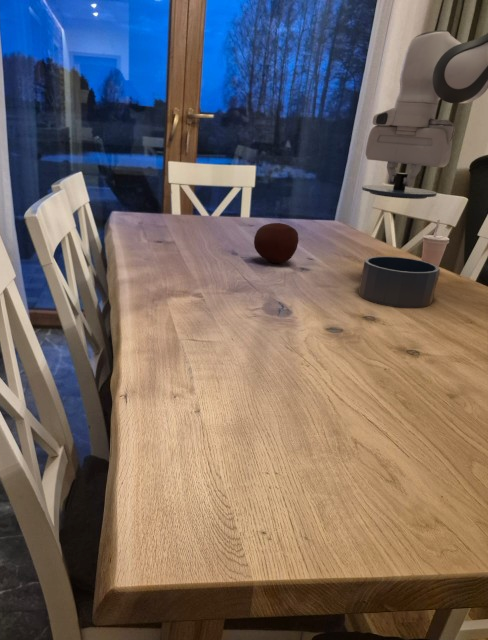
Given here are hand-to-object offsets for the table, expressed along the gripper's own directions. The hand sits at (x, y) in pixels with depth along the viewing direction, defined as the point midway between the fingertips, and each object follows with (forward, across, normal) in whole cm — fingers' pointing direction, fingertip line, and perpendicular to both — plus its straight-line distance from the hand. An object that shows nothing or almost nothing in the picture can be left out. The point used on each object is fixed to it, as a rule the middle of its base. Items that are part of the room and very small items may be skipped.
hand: (399, 184), depth 133 cm
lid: (+2, 0, 0) cm, 2 cm away
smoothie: (+23, -2, -17) cm, 29 cm away
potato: (+23, +26, +11) cm, 37 cm away
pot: (+22, -12, +10) cm, 27 cm away
